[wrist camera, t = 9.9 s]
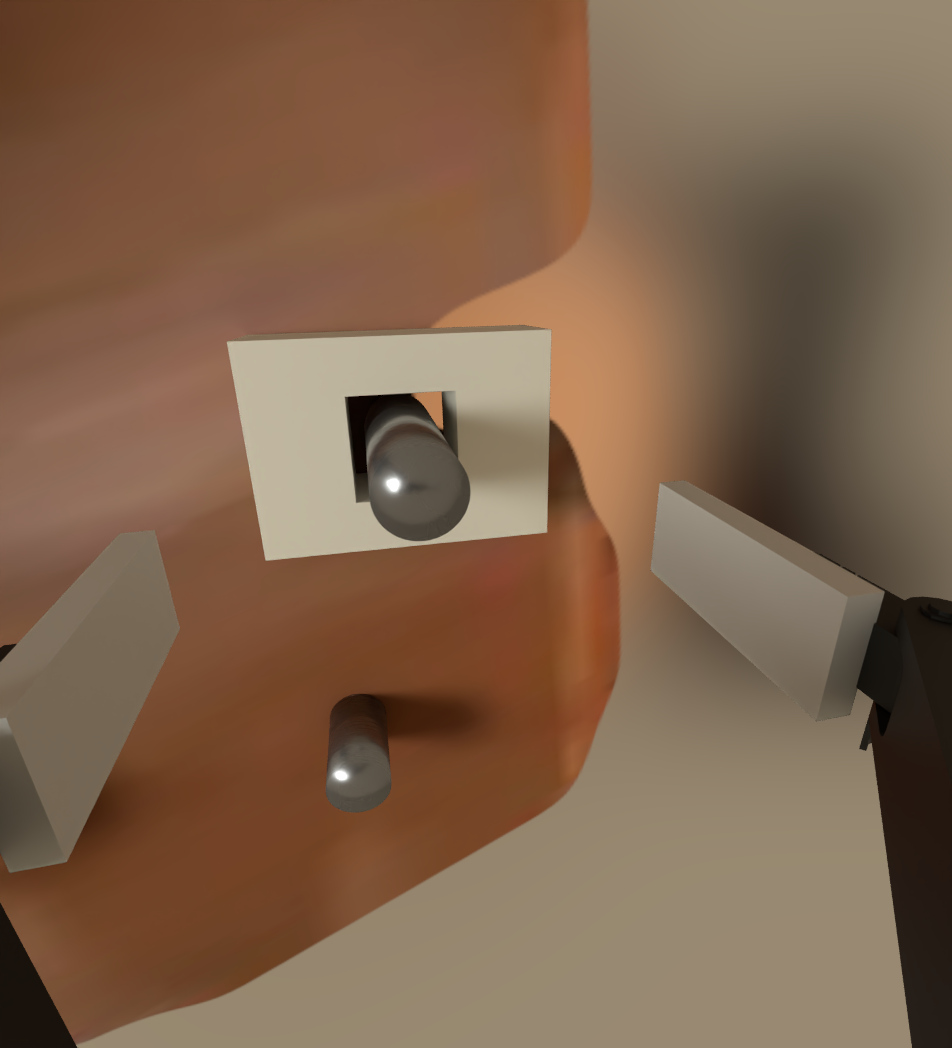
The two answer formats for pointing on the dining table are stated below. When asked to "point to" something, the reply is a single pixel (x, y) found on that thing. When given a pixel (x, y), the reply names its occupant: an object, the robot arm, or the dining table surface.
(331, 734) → the short pin
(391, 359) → the hole block
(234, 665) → the dining table surface
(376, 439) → the long pin
